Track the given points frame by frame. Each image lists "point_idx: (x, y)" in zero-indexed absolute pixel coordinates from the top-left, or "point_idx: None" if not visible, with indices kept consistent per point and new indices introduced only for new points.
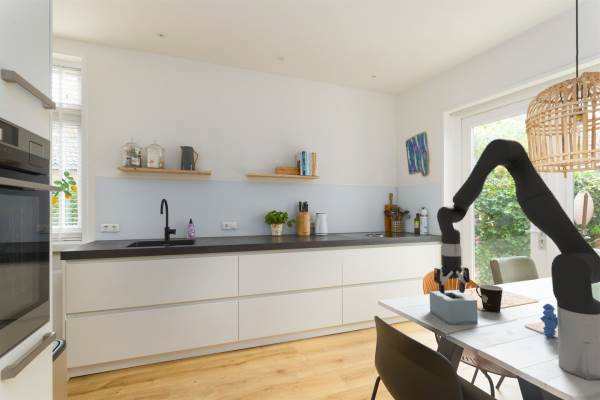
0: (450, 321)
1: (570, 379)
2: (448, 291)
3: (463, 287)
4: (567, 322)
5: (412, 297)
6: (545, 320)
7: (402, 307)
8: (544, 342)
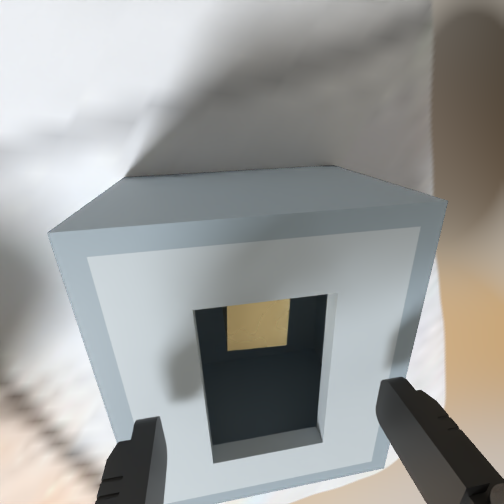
0: (331, 168)
1: None
2: (231, 481)
3: (128, 495)
4: None
5: (292, 497)
6: None
7: None
8: None
